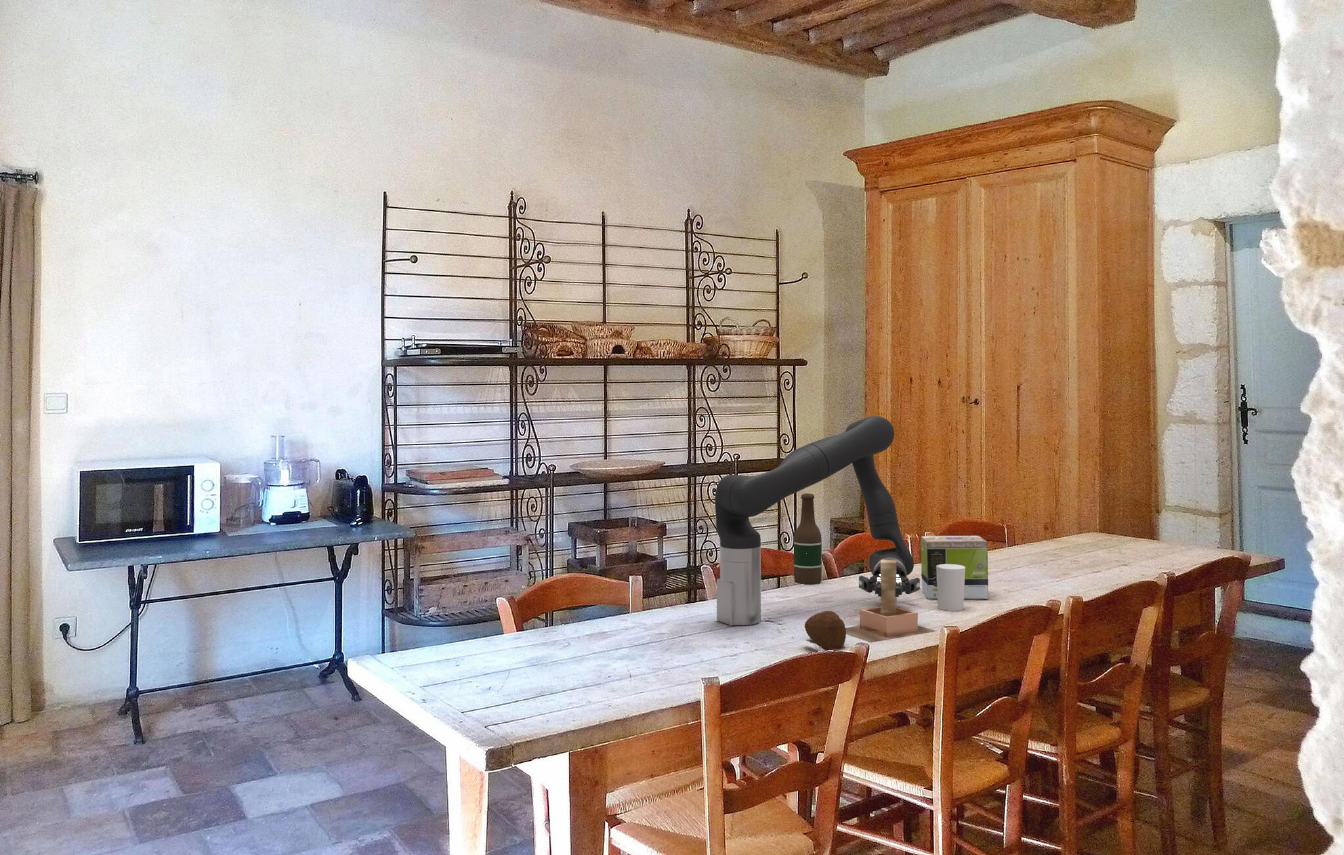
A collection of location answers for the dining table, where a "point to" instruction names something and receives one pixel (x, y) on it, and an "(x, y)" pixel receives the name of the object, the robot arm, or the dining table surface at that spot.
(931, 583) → the tea box
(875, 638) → the board
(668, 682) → the dining table surface
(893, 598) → the tan cylinder
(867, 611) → the pink open tray
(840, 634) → the potato
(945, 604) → the white upright cylinder
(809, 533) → the beer bottle
